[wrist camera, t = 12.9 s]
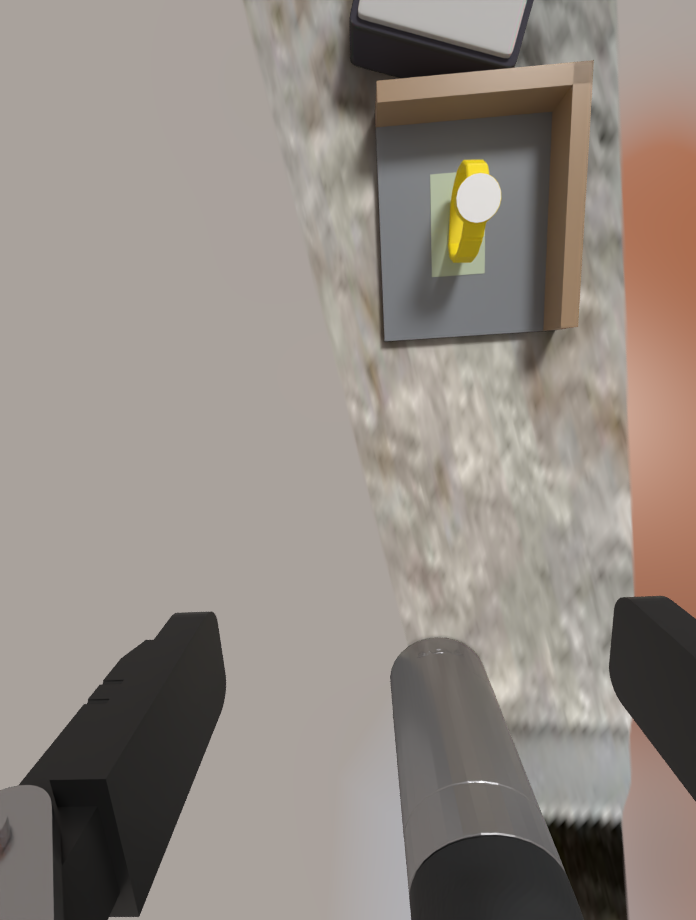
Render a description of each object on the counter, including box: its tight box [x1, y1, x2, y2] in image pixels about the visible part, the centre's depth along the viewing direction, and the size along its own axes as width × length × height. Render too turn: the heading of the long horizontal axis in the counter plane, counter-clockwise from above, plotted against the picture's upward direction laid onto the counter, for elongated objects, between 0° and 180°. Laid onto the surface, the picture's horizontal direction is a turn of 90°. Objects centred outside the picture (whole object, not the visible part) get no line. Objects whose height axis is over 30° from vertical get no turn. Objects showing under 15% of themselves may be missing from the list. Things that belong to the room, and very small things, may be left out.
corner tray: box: [375, 60, 594, 341], centre depth 30 cm, size 16×14×4 cm
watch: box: [448, 160, 501, 263], centre depth 29 cm, size 6×3×6 cm, turn 0°
